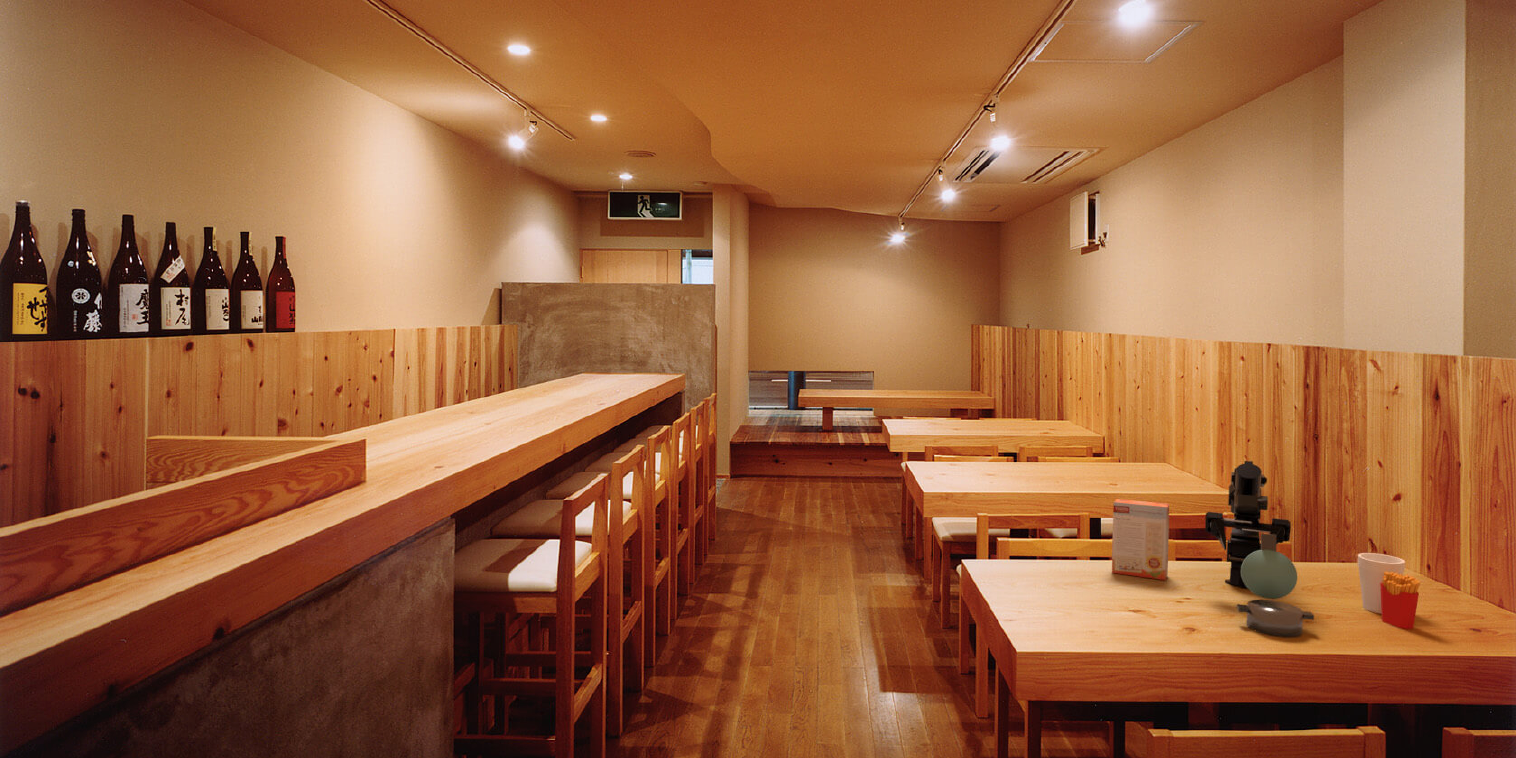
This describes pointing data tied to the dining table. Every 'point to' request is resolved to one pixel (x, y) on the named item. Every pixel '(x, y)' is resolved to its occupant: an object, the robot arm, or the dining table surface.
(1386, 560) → the foam cup
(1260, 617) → the cooker pot
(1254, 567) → the lid
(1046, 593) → the dining table surface
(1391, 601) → the french fries
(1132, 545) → the cracker box
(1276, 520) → the robot arm
